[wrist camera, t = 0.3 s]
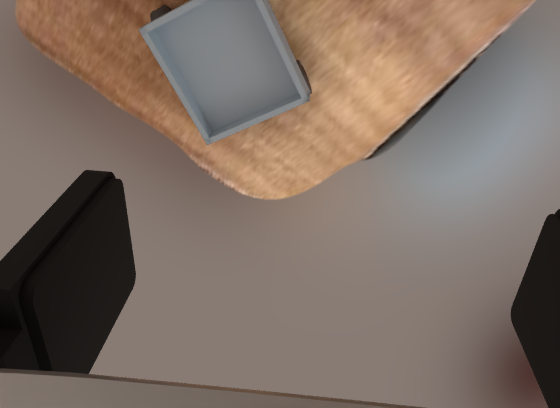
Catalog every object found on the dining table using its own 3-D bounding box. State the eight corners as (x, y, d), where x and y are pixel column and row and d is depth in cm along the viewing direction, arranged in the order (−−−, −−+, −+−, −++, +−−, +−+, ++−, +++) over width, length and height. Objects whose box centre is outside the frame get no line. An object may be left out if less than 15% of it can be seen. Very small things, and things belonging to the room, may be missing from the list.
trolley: (155, 9, 44) (134, 22, 39) (254, -45, 41) (244, -38, 36) (222, 126, 49) (210, 150, 44) (314, 86, 46) (312, 107, 41)
